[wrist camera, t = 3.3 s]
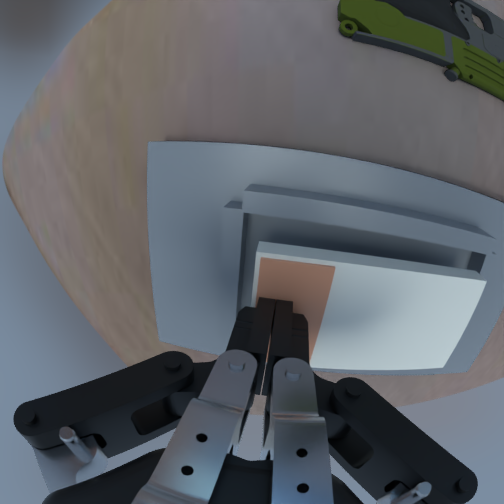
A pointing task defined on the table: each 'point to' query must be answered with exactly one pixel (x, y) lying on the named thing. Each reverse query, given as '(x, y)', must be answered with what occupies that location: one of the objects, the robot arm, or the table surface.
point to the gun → (433, 35)
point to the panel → (302, 232)
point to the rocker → (369, 305)
